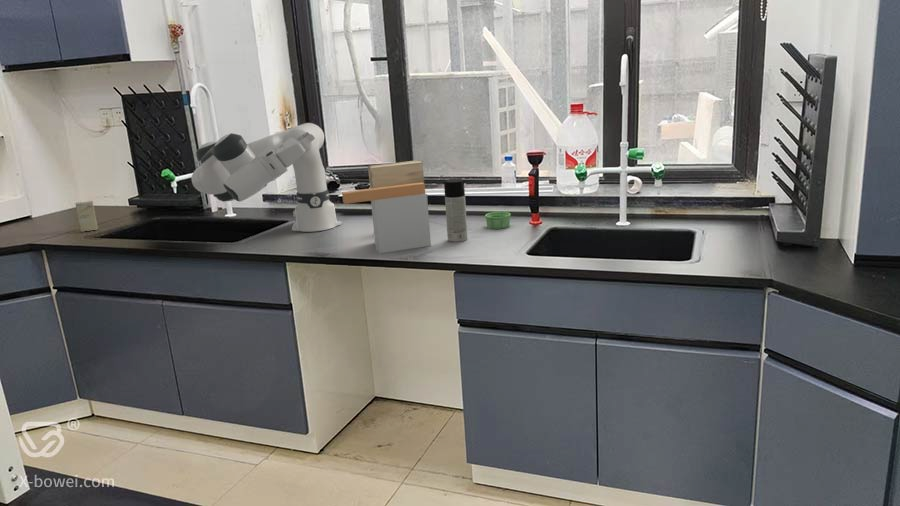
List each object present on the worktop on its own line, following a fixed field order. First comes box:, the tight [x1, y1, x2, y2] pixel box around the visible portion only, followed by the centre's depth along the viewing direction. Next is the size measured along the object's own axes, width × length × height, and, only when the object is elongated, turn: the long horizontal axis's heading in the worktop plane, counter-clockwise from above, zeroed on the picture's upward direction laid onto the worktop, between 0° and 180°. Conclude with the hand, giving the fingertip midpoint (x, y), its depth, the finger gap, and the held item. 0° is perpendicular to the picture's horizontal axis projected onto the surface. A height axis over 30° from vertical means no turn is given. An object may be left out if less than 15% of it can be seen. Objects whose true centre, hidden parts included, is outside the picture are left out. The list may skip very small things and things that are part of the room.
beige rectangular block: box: [367, 160, 425, 189], centre depth 218 cm, size 6×17×26 cm, turn 109°
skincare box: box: [75, 200, 99, 232], centre depth 271 cm, size 6×4×12 cm
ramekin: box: [485, 211, 511, 230], centre depth 231 cm, size 9×9×4 cm
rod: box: [341, 182, 426, 205], centre depth 206 cm, size 3×26×3 cm, turn 109°
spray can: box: [443, 178, 468, 243], centre depth 214 cm, size 7×7×20 cm
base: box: [370, 192, 432, 254], centre depth 210 cm, size 6×17×17 cm, turn 109°
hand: (311, 134), depth 197 cm, fingers open, 8 cm apart
